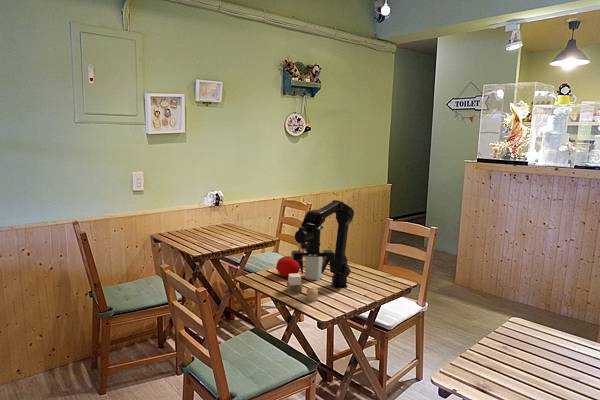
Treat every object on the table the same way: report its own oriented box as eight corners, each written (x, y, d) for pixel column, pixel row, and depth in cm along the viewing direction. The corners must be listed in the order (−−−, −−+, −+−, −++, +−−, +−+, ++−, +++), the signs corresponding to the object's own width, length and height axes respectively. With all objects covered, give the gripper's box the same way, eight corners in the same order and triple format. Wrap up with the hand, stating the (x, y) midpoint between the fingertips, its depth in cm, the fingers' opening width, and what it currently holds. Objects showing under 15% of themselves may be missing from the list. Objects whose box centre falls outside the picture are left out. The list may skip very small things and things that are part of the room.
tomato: (299, 279, 213) (300, 259, 212) (275, 278, 213) (276, 258, 212) (299, 272, 224) (300, 253, 223) (276, 271, 225) (277, 252, 223)
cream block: (298, 281, 200) (298, 273, 199) (300, 285, 195) (301, 276, 195) (288, 281, 199) (288, 273, 198) (290, 285, 194) (290, 277, 193)
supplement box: (322, 276, 220) (324, 253, 218) (317, 280, 213) (318, 256, 211) (310, 274, 223) (311, 251, 221) (304, 278, 216) (305, 254, 214)
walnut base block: (299, 289, 201) (299, 281, 200) (301, 293, 195) (302, 285, 195) (286, 289, 200) (287, 281, 199) (289, 294, 194) (289, 285, 193)
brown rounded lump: (315, 297, 191) (316, 287, 190) (318, 301, 186) (319, 292, 186) (305, 297, 190) (305, 288, 189) (307, 302, 185) (308, 292, 185)
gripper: (329, 235, 194) (327, 267, 196) (289, 235, 190) (288, 268, 193) (335, 241, 183) (334, 275, 186) (294, 241, 179) (292, 276, 182)
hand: (312, 273), depth 187 cm, fingers open, 9 cm apart
